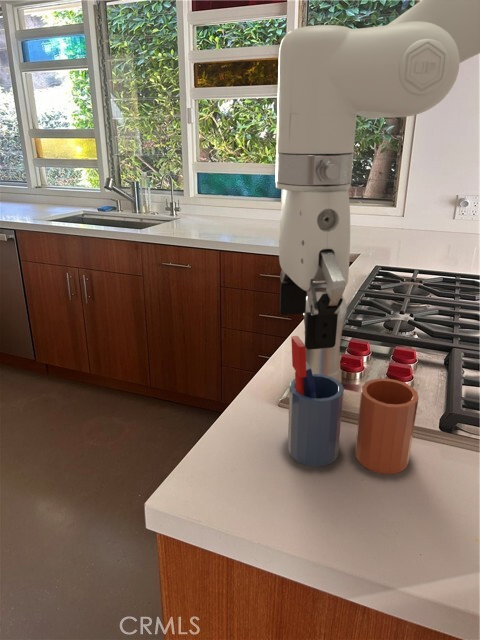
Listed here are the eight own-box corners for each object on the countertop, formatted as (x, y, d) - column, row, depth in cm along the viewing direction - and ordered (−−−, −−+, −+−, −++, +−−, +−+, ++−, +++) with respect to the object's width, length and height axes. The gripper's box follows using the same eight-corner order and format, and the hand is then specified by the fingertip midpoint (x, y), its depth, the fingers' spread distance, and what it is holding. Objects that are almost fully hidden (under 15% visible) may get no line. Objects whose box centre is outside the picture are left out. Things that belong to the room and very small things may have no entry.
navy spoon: (323, 441, 61) (305, 359, 56) (330, 452, 59) (312, 368, 54) (317, 443, 61) (298, 361, 56) (323, 455, 59) (304, 371, 53)
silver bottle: (320, 378, 78) (326, 262, 70) (349, 395, 73) (360, 273, 65) (290, 389, 75) (293, 269, 67) (318, 408, 69) (325, 281, 62)
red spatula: (301, 443, 61) (298, 335, 55) (309, 458, 58) (306, 345, 52) (294, 444, 61) (290, 336, 55) (301, 459, 58) (298, 347, 52)
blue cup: (327, 435, 63) (331, 371, 60) (345, 466, 58) (351, 397, 54) (282, 441, 62) (283, 376, 58) (296, 473, 56) (299, 403, 53)
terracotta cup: (391, 441, 62) (400, 376, 58) (417, 473, 56) (429, 403, 52) (346, 447, 61) (352, 381, 57) (368, 481, 55) (376, 410, 51)
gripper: (389, 180, 39) (369, 360, 46) (319, 165, 55) (311, 301, 61) (304, 182, 38) (296, 367, 44) (257, 166, 53) (256, 305, 60)
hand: (304, 329), depth 53 cm, fingers open, 9 cm apart
